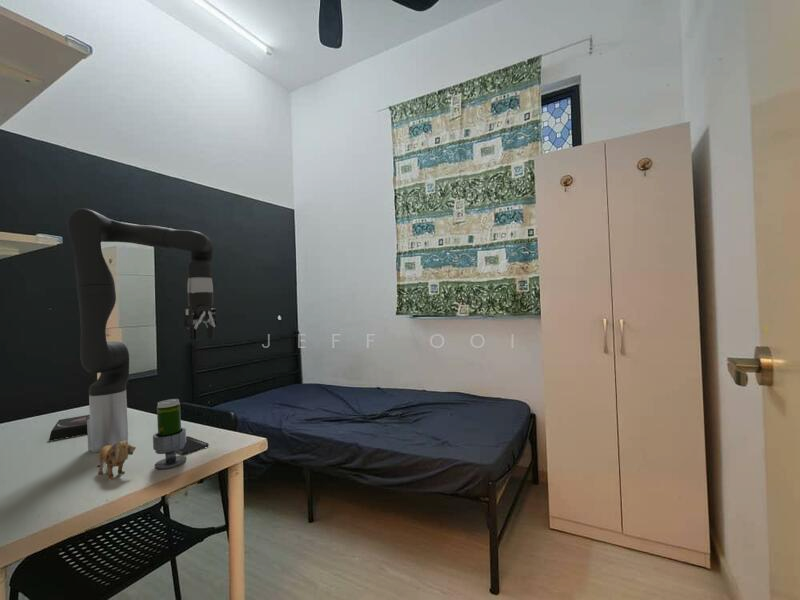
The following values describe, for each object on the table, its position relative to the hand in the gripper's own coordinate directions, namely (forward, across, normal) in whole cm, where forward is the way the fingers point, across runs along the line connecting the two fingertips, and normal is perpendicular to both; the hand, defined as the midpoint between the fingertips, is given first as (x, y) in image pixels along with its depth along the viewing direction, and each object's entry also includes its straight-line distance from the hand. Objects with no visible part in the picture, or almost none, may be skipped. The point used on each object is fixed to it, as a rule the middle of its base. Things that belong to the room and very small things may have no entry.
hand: (202, 339), depth 121 cm
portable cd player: (+33, -7, -54) cm, 64 cm away
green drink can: (+27, +22, +5) cm, 35 cm away
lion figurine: (+32, +28, -7) cm, 43 cm away
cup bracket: (+32, +22, +5) cm, 39 cm away
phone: (+33, +10, 0) cm, 34 cm away
